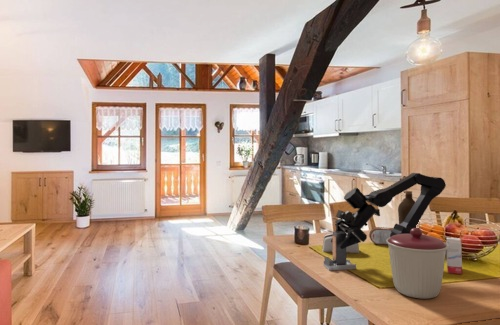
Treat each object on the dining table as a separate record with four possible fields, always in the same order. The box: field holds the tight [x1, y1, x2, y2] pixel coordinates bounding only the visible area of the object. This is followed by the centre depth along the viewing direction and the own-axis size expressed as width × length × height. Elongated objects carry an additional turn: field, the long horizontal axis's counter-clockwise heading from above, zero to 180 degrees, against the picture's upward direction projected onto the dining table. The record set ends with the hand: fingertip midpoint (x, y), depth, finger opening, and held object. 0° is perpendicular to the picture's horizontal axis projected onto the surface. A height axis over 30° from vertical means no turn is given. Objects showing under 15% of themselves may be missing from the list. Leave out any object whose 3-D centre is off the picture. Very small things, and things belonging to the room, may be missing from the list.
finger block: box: [332, 230, 347, 265], centre depth 136 cm, size 4×4×13 cm
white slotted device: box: [321, 232, 360, 254], centre depth 159 cm, size 17×5×10 cm, turn 81°
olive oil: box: [397, 190, 416, 228], centre depth 181 cm, size 11×11×25 cm
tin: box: [368, 226, 394, 246], centre depth 170 cm, size 15×3×8 cm, turn 76°
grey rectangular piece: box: [323, 256, 357, 272], centre depth 137 cm, size 11×6×4 cm, turn 98°
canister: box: [386, 227, 449, 300], centre depth 111 cm, size 18×18×21 cm
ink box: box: [445, 237, 463, 275], centre depth 131 cm, size 9×5×12 cm, turn 150°
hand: (336, 245), depth 136 cm, fingers open, 9 cm apart
